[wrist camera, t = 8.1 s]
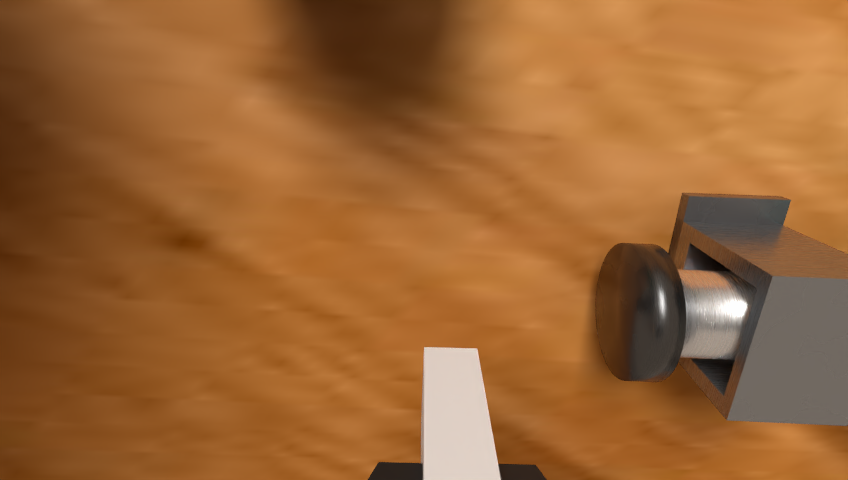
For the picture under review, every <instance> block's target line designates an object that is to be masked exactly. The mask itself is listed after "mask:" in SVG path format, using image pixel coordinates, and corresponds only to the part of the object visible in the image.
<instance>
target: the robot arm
mask: <svg viewBox="0 0 848 480" xmlns="http://www.w3.org/2000/svg"><path fill="white" fill-rule="evenodd" d="M368 480H546V478H545V477H544V476H543V474H542V473H541V472H540V470H539V469H538V468H537V466H536V465H519V464H498V461H497V456H496V450H495V445H494V439H493V433H492V428H491V422H490V417H489V411H488V406H487V400H486V395H485V389H484V384H483V378H482V373H481V367H480V362H479V356H478V351H477V349H473V348H438V347H424V365H423V391H422V418H421V463H389V462H379V463H378V464H377V466H376V467H375V469H374V471H373V472H372V474H371V475H370V477H369V479H368Z"/></svg>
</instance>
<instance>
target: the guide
mask: <svg viewBox="0 0 848 480" xmlns="http://www.w3.org/2000/svg"><path fill="white" fill-rule="evenodd" d="M790 201H791V200H789V199H787V198H784V197H778V196H752V195H726V194H700V193H682V198H681V202H680V206H679V211H678V215H677V219H676V224H675V228H674V232H673V237H672V241H671V245H670V250H669V256H670V257H671V258H672V260H673V262H674V263H675V265H676V268H677V269H681V270H705V271H729V272H734V273H735V274H737V275H738V276H740V277H741V278H743V279H744V280H746V281H747V282H749V283H750V284H752V285H753V286H755V287H756V288H757V291H756V294H755V297H754V300H753V304H752V307H751V310H750V313H749V317H748V320H747V323H746V326H745V329H744V333H743V336H742V339H741V342H740V346H739V349H738V352H737V355H736V359H735V360H725V359H702V358H680V359H679V361H678V362H679V363H680V365H681V366H682V367H683V368H684V369H685V371H686V372H687V373H688V374H689V375H690V377H691V378H692V379H693V380H694V381H695V383H696V384H697V385H698V386H699V387H700V389H701V390H702V391H703V392H704V393H705V395H706V396H707V397H708V398H709V400H710V401H711V402H712V403H713V404H714V406H715V407H716V408H717V409H718V410H719V412H720V413H721V414H722V415H723V416H724V418H725V419H726V420H731V421H753V422H774V423H796V424H817V425H839V426H847V425H848V254H846V253H844V252H841V251H839V250H837V249H835V248H832V247H830V246H828V245H826V244H823V243H821V242H819V241H817V240H814V239H812V238H810V237H808V236H805V235H803V234H801V233H799V232H796V231H794V230H792V229H790V228H787V227H785V226H783V223H784V220H785V217H786V214H787V211H788V208H789V204H790Z"/></svg>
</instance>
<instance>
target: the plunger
mask: <svg viewBox="0 0 848 480" xmlns="http://www.w3.org/2000/svg"><path fill="white" fill-rule="evenodd" d="M756 291H757V288H756V287H755V286H753V285H752V284H750V283H749V282H747V281H746V280H744V279H743V278H741V277H740V276H738V275H737V274H735V273H734V272H729V271H705V270H681V269H677V268H676V265H675V263H674V262H673V260H672V258H671V257H670V256H669V254H668V253H667V252H666V251H665V250H664V249H663V248H661V247H660V246H657V245H654V244H631V243H620V244H617V245H615V246H614V247H613V248H612V249H611V250H610V251H609V252H608V254H607V256H606V257H605V260H604V262H603V264H602V267H601V271H600V274H599V279H598V284H597V292H596V324H597V332H598V338H599V343H600V347H601V351H602V354H603V357H604V359H605V362H606V364H607V366H608V367H609V369H610V371H611V372H612V373H613V374H614V375H615V376H616V377H617V378H618V379H620V380H624V381H641V382H660V381H663V380H665V379H666V378H667V377H669V376H670V375H671V373H672V372H673V371H674V369H675V367H676V366H677V364H678V361H679V359H680V358H702V359H725V360H735V359H736V355H737V352H738V349H739V346H740V342H741V339H742V336H743V333H744V329H745V326H746V323H747V320H748V317H749V313H750V310H751V307H752V304H753V300H754V297H755V294H756Z"/></svg>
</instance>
